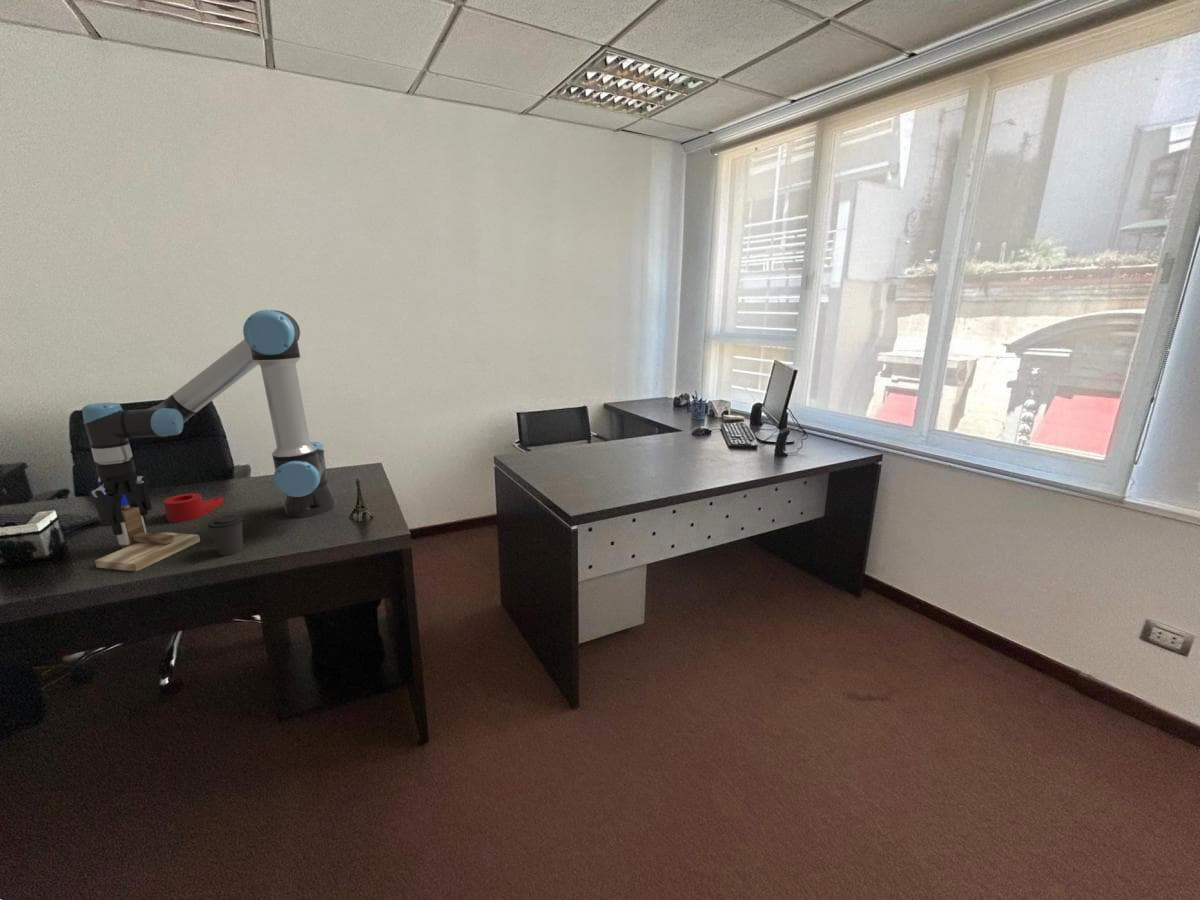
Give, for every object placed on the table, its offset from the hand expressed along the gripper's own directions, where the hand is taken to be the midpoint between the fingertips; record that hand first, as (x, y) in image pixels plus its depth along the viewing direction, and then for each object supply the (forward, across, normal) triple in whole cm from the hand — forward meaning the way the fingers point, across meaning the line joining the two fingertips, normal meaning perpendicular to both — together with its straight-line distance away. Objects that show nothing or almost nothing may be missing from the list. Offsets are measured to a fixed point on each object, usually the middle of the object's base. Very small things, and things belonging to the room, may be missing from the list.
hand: (133, 540), depth 141 cm
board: (+2, +2, +8) cm, 9 cm away
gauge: (+2, 0, +8) cm, 8 cm away
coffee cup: (+2, -2, +28) cm, 28 cm away
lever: (+3, -26, -6) cm, 26 cm away
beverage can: (+2, -14, -23) cm, 27 cm away
